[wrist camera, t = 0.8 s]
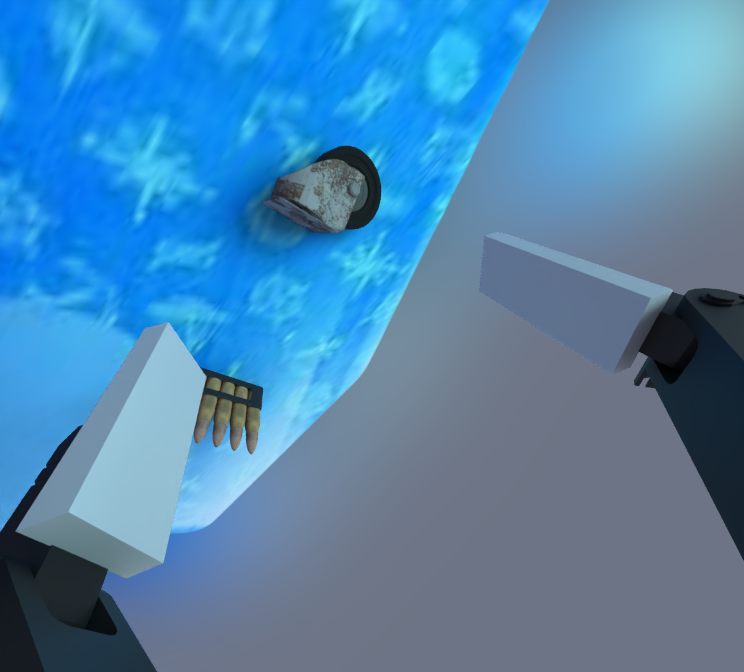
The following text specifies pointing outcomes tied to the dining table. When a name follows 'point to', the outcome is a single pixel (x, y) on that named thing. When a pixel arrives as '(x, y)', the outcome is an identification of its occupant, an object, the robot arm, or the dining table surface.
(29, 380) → the dining table surface
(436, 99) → the dining table surface
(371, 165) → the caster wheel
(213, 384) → the ammunition clip
